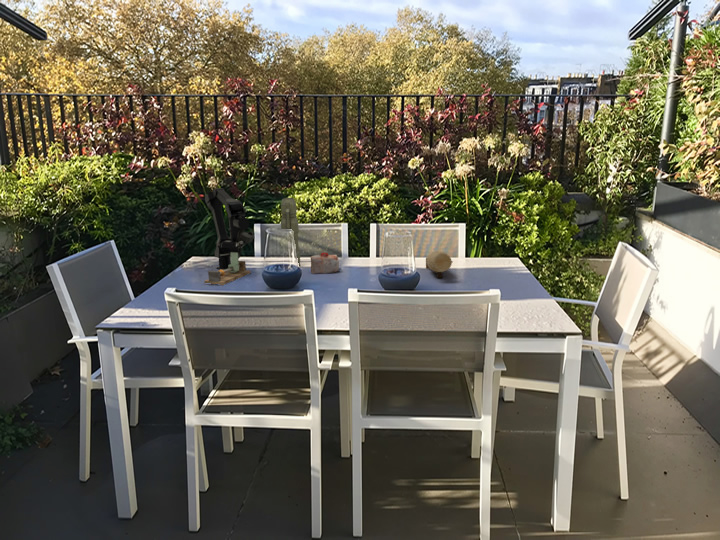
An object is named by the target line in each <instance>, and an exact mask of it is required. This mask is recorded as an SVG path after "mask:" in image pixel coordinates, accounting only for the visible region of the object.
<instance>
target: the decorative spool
mask: <svg viewBox="0 0 720 540" xmlns="http://www.w3.org/2000/svg"><path fill="white" fill-rule="evenodd" d="M452 263H453V260H452V258H451V257H450V255H448V254H447V253H446V252H444V251H440V250H439V251H436V250H435V251H432V252H431V253H429V255H427V256H426V258H425V269H428V270H429V269H430V270H431V271H432V272H433V273H436V274H437V275H436V277H437V279H441V278H442V279H443V272H446V271H448V270H449V269H450V268H451V266H452V265H453V264H452Z"/></svg>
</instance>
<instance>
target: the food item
mask: <svg viewBox="0 0 720 540" xmlns="http://www.w3.org/2000/svg"><path fill="white" fill-rule="evenodd" d="M339 269H340V260H339V257H338V255H337V254H329V253H328V252H321V253H320V255H319V254H318V255H316V254H315V255H311V256H310V272H311V274H313V275H314V274H332V273H337V272H338V271H339Z"/></svg>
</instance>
